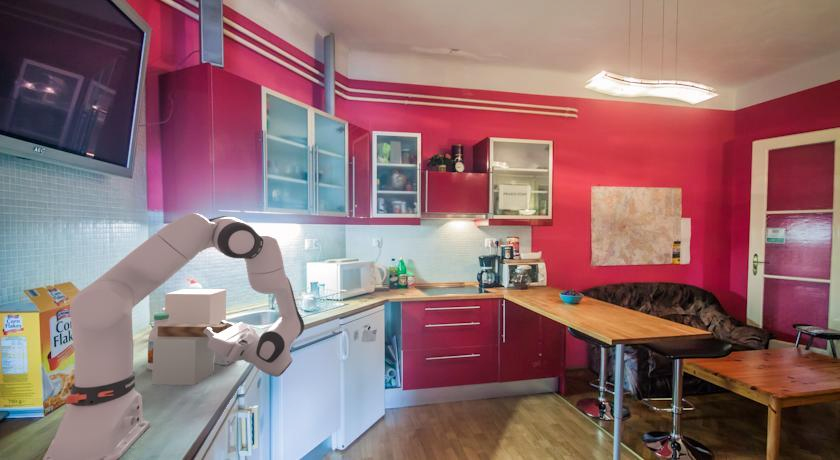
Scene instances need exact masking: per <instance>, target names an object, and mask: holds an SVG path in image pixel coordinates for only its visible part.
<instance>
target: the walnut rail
mask: <svg viewBox="0 0 840 460" xmlns="http://www.w3.org/2000/svg"><path fill="white" fill-rule="evenodd" d="M208 327H210V328H211V329H212V331H213V332H214V333H217V334H218V333H220V332H222V331H224V330H226V329H227V324H163V325H160V326H158V336H159V337H208V336H207V335H206V334H205V333H204V332H203V331H204V330H205V328H208Z"/></svg>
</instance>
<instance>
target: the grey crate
mask: <svg viewBox="0 0 840 460" xmlns="http://www.w3.org/2000/svg"><path fill="white" fill-rule="evenodd" d="M209 340H210V339H209V337H159V338H157V339H154V340H153V371H152V379H151V380H152V382H151V383H152V385H153V386H196V385H197V384H199V383H200V382H201V381H203V380H204V379H206V378H207V377H209V376H210V375H211V374H213V373H214V371H215V369H214V367H215V364H214V351H212V350H211V349H209V347H208V346H207V344H208V342H209Z"/></svg>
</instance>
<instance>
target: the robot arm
mask: <svg viewBox="0 0 840 460" xmlns="http://www.w3.org/2000/svg"><path fill="white" fill-rule="evenodd" d="M211 248H214V249H215V250H217V252H219V253H221V254H223V255H225V256H227V257H228V258H232V259H244V261H245V267H246V273H247V278H248V282H249V285H250V287H251V288H252V289H253V290H254V291H255V292H257V293H259V294H264V295H273V296H274V297H275V298H274V299H275V301H276V305H277V308H278V309H277V310H278V317H277V319H276V320H275V321H274V322H273V323H272V324H271V325H270V326H269V327H268V328H267V329H266V330H264V332H262V334H261V335H260V336H259V334H258V333H256V330H255V329H254V328H252V327H251V326H249V325H248V324H247V323H245V322H243V321H240V322H238V323H233V322H229V321H225V320H223V321H221V322H220V323H219V324H227V328H228V329H226V330H224V331H222V332H220V333H218V334H217V333H214V332H213V331H212V329H211V328H210V327H208V328H205V330H204V331H203V332H204V333H205V334H206V335H207V336H208V337H209V339H210V340H209V342H208V344H207V346H208V347H209V349H211V350H212V351H214V352H215V353H217V354H219V355H221V356H223V357H227V360H228V361H229V362H231V363H234V362H238V361H244V362H246V363H248V364H252V365H253V366H255V368H256V369H257V370H260V371H261V372H263V373H265V374H266V375H270V376H272V377H280V376H282V375H283V374H284V373H285V372H286V370H287V369H288V368H289V367H290V365H291V364H292V362H293V358H292V357H291V356H292V355H291V345H292V344H293V343H294V342H295V340H297V338H299V337H300V336H301V335H302V334H303V332H304V330H305V323H304V320H303V317H302V315H301V314H300V312H299V309H298V306H297V302H296V298H295V294H294V290H293V287H292V283H291V282H290V279H289V277H288V276H287V275H286V271H285V265H284V261H283V260H284V259H283V255H282V252H281V248H280V245H279V243H278V241H277V239H276V237H274V236H272V235H269V234H262V233H261V234H259V233H258V232H257V230H256V229H255V228H254V227H252V226H251V225H250V224H249V223H247V222H245V221H244V220H242V219H240V218H236V217H233V216H228V215H225V216H224V215H223V216H222V215H221V216H218V217H214V218H209V219H208V218H206V217H205V216H203V215H202V214H199V213H195V212H189V213H186V214H184V215H182V216H180V217H178V218H177V219H175V220H172V221H171V222H170V223H168V224H166V225H165V226H164V227H162V228H161V229H159V230H158V231H156V233H154V234H153V235H151V236H150V237H149V238H148V239H146V240H145V241H144V242H142V243H141V244H140V245H138V246H137V247H136V248H135V249H134V250H132V251H131V252H130V253H128V254H127V255H126V256H125V257H123V258H122V259H121V260H120V261H119V262H117V263H116V264H115V265H114V266H113V267H111V268H110V269H108V270H107V271H106V272H105V273H104V274H103V275H101V276H100V277H98V278H97V279H96V280H95V281H93V282H92V283H90V284H89V285H87V286H86V287H84V288H83V289H81V290H80V291H78V292H77V293H76V294H75V295H74V297H73V298H72V300H71V303H70V305H69V318H70V327H71V338H72V343H73V349H74V371H73V372H74V374H73V377H74V378H73V379H74V380H73V383H72V384H71V388H70V392H69V394H68V395H66V399H65V403H66V408H65V410H64V413H63V416H62V418H61V421H60V424H59V425H58V427H57V430H56V432H55V433H56V434H55V436H54V438H53V439H52V441H51V442H50V445H49V446H48V448H47V450H46V452H45V454H44V455H43V458H42V460H118V459H119V458H121V457H122V455H124V454H125V453H126V451H127V450H128V449H129V448H130V447H131V446H132V445H133V444H134V443H135V442H136V441H137V440H138V439H139V438H140V437H141V435H143V433H144V432H145V431H146V430H148V429H149V427H150V426H151V424H150V421H149V420H146V419H143V418H144V417H143V400H142V399H143V398H142V394H140V393H139V392H138V391H137V390H136V389H135V387H136V373H135V371H134V343H135V342H134V335H133V308H135V307H136V306H137V305H138V304H139V303H140V302H141V301H143V300H144V299H146V298H147V297H148V296H149V295H150V294H151V293H154V291H155V290H157V289H158V288H159V287H161V285H163V284H165V283H166V282H167V281H168V280H170V279H171V278H172V277H173V276H174V275H175V274H176V273H178V272H179V271H180V270H181V269H183V267H185V266H186V264H188V263H189V262H190V261H192V260H193V259H194V258H195V257H196V256H197V255H198V254H199V253H201V252H203V251H204V250H207V249H211ZM235 324H236V325H235Z"/></svg>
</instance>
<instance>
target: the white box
mask: <svg viewBox="0 0 840 460" xmlns="http://www.w3.org/2000/svg"><path fill="white" fill-rule="evenodd" d="M164 295H165V296H164V298H165V299H164V308H165V312H164V313H168V314H169V319H168V323H169V324H219V323H220V322H221V321H223V320H225V321H226V319H227V318H226V317H227V316H226V315H227V313H226V312H227V288H226V289H225V288H223V289H216V288H215V289H214V288H213V289H212V288H208V289H206V288H183V289H179V290H176V291H175V290H174V291H172V292H171V291H170V292H167V293H165V294H164ZM226 322H227V321H226Z"/></svg>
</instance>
